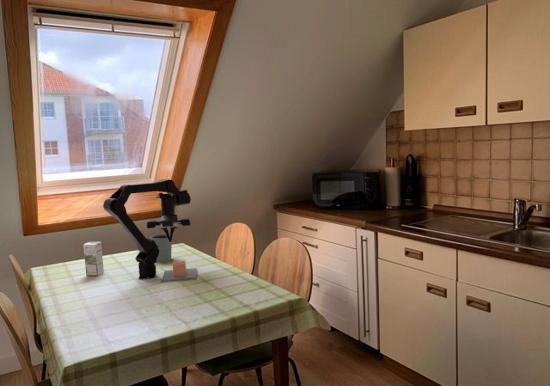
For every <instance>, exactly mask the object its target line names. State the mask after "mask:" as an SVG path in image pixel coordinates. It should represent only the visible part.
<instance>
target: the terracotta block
mask: <svg viewBox="0 0 550 386" xmlns="http://www.w3.org/2000/svg"><path fill="white" fill-rule="evenodd" d="M186 265H187V264H186V260H178V261H173V262H172V270H173V276H182V275H186V269H187V268H186V267H187V266H186Z"/></svg>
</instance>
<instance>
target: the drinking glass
mask: <svg viewBox="0 0 550 386" xmlns="http://www.w3.org/2000/svg"><path fill="white" fill-rule="evenodd" d="M149 239H151V240H154V241H155V243H156V245H157V246H159V247H158V249H159V251H160V252H159V255H158V257H157V261H156V263H157V262H162V263H167V262H166V261H168V262H170V261H172V250H173V249H172V246H173V245H172V242H173V241H171V242H169V240H168V237H167V235H166V233H165V234H155V235H152V236H150V238H149Z"/></svg>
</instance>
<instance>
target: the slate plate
mask: <svg viewBox="0 0 550 386" xmlns="http://www.w3.org/2000/svg"><path fill="white" fill-rule="evenodd" d="M197 271H198V268H197V267H193V268H186V275H182V276H173V269H169V270H164V272H163V275H162V278H161V283H169V282H168V281H170V282H178V281H177V280H182V281H190V280H189V279H194V280H197V273H198V272H197Z"/></svg>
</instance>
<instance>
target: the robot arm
mask: <svg viewBox="0 0 550 386" xmlns="http://www.w3.org/2000/svg"><path fill="white" fill-rule="evenodd" d="M151 192H158V194H157V195H156V196H155V198H156V199H160V204H161V205H160V207H161V216H160V217H161V219H160V220H161V221H160V220H159V221H158V219H149V220H148V221H147V222H146V228H147V229H155V227H157V226H160V230H163V232H164V233H165V234H166V235H167V237H168V240H169V242H171V241H172V240H173V236H174V232H175V230H176V229H178V227H179V225H181V226H183V227H188V226H191V223H192V221H191V218H190V217H181V218H180V219H178V214H176V209H175V208H176V207H179V206H185V205H189V204H190V203H191V201H192V199H191V196H190V194H189V192H188V189H182V190H179V188H178V187H177V186H176V183H175V181H174V180H173V179H168V178H161V179H157V180H155V181H152V182H143V183H134V184H133V183H132V184H122V185H121V186H120V187H119V188H117V190H116V191H115V192H113V194H111V195H110V197H108V198H106V199H105V200H104V202H103V205H102V207H103V209H104V211H106V212H107V213H108V214H109V215H110V216H112V217H113V218H114V219H116V220H117V221H118V222H119V223H120V225H121V226H122V227H123V229H124V230H126V232H127V233H128V234H129V236H130V237H131V239H132V240H133V241H134V242H135V243H136V246H137V250H138V251H139V252H138V254H137V255H136V257H135V261H136V262H137V263H138V265H137V266H138V276H139V277H138V279H139V280H141V279H142V280H143V279H153V278H155V277H156V276H157V265H156V263H157V262H156V261H157V257H158V255H159V252H160V251H159V249H158V247H159V246H157V245H156V243H155V241H154V240H151V238H147V237H145V235H144V234H143V232H142V231H141V230H140V229H139V227H138V226H137V225H136V223H135V222H134V221H133V220H132V218H131V216H129V215H128V212H127V208H126V207H125V205H126V203H127V202H128V200H129V198H130V196H131V195H132V194H140V193H142V194H143V193H151ZM175 206H176V207H175ZM169 227H170V228H169ZM169 229H170V230H169ZM172 242H173V241H172Z"/></svg>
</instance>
